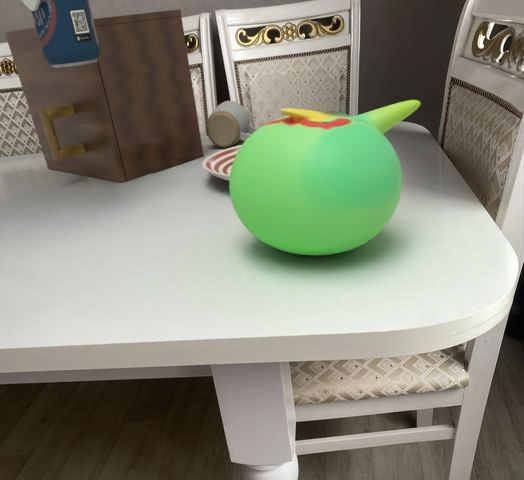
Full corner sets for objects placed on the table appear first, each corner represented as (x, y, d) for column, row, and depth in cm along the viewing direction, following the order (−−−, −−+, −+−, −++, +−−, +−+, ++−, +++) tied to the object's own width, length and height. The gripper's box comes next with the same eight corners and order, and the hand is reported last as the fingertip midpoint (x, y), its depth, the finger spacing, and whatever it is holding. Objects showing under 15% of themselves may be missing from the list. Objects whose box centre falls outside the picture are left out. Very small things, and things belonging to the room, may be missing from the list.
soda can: (37, 69, 67) (2, -48, 61) (83, 61, 71) (55, -49, 65) (66, 67, 63) (32, -58, 56) (113, 59, 67) (87, -58, 61)
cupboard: (127, 181, 91) (88, 19, 78) (53, 167, 107) (10, 30, 94) (203, 156, 101) (180, 9, 88) (126, 146, 117) (96, 20, 104)
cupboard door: (92, 192, 87) (46, 25, 74) (21, 176, 103) (-28, 36, 90) (126, 181, 91) (87, 20, 78) (52, 167, 107) (9, 31, 94)
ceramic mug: (206, 150, 105) (201, 108, 101) (217, 140, 112) (211, 101, 108) (258, 147, 103) (254, 105, 99) (265, 138, 110) (262, 98, 106)
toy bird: (209, 258, 59) (185, 117, 51) (299, 211, 69) (291, 87, 61) (347, 295, 48) (344, 123, 40) (429, 232, 58) (440, 86, 50)
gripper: (-103, -128, 52) (7, -21, 54) (41, -105, 67) (122, -22, 69) (-111, -64, 56) (-9, 34, 58) (26, -56, 71) (104, 21, 73)
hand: (64, 4), depth 63 cm, fingers closed on soda can, 7 cm apart
